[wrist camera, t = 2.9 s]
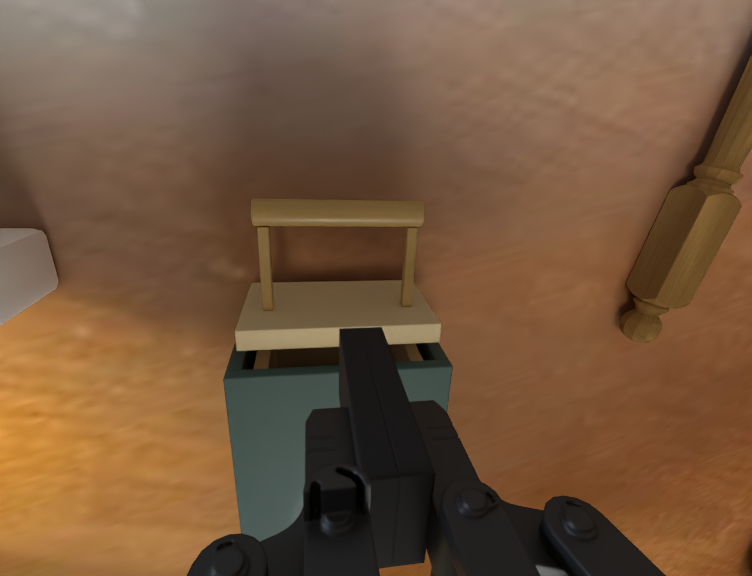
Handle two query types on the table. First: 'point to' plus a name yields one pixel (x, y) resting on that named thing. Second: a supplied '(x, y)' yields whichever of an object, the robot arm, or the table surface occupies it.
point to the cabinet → (295, 427)
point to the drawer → (332, 290)
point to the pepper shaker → (24, 270)
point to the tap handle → (691, 224)
